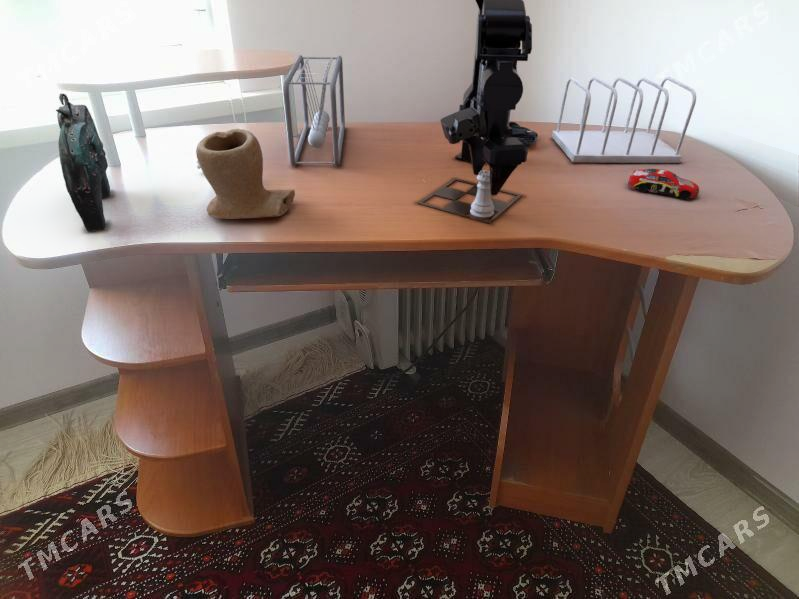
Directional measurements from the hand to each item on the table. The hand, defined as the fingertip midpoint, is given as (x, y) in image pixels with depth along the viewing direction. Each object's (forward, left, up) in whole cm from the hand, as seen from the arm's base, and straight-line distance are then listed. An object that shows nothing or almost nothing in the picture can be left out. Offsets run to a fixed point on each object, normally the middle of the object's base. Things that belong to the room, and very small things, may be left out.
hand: (484, 184), depth 97 cm
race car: (-30, +25, -6) cm, 40 cm away
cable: (-40, -15, -6) cm, 43 cm away
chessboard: (-4, -5, -6) cm, 9 cm away
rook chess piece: (0, 0, -6) cm, 6 cm away
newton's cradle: (-11, -48, -6) cm, 50 cm away
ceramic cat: (+39, -59, -6) cm, 70 cm away
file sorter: (-49, +10, -6) cm, 51 cm away
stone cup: (+25, -35, -6) cm, 43 cm away
